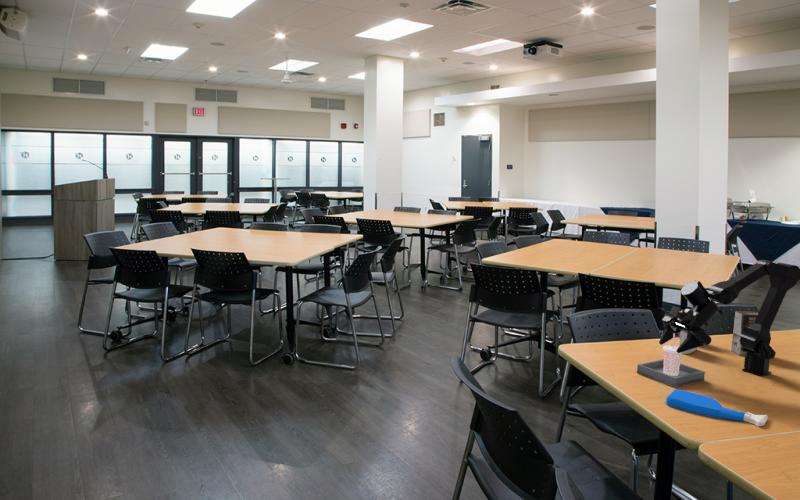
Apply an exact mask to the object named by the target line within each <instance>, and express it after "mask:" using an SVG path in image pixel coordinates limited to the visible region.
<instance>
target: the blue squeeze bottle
mask: <svg viewBox="0 0 800 500" xmlns="http://www.w3.org/2000/svg"><path fill="white" fill-rule="evenodd" d="M665 403H666V405H667V406H670V407H672V408H675V409H679V410H681V411H686V412H689V413H693V414H697V415H701V416H705V417H711V418H716V419H724V420H732V421H738V422H745V423H746V422H747V423H750V424H752V425H755V426H756V427H762V426H765V424H767V421H768V415H767V414H764V415H763V414H757V415H756V414H753V413H751V412H748V411H746V413H745V412H744V411H738V410H735V409H730V408H729V407H724V406H722V404H720V402H719V401H718V400H716V399H715V398H713V397H710V396H707V395H703V394H701V393H696V392H691V391H688V390H683V389H682V390H681V389H677V388H676V389H674V390H672V391H671V392H670V394H669V395H668V396H667V397H666V401H665Z"/></svg>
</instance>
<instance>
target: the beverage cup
mask: <svg viewBox="0 0 800 500" xmlns="http://www.w3.org/2000/svg"><path fill="white" fill-rule="evenodd" d="M675 338H676V336H675V333H673V338H672V345H671V344H666V345H663V346H662V350H663V359H664V368H663V373H665V374H668V375H670V376H678V374H679V367H680V363H681V359H682V356H683V355H682V354H683V353H682V352H681V353H677V351H676V350H677V349H678V348H679V346H678V345H675Z"/></svg>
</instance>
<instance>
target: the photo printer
mask: <svg viewBox="0 0 800 500" xmlns="http://www.w3.org/2000/svg"><path fill="white" fill-rule="evenodd" d="M679 337H680V338H679V346H680V345H681V344H682V343H683V342H684V340H685V339H686V338H687V333H686V332H684V331H681V334H680V333H679ZM697 350H698V347H696V348H693V349H690V350H687V351H684V352H682V354H683V355H684V354H685V355H689V354H691V353H694V352H695V351H697Z"/></svg>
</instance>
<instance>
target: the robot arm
mask: <svg viewBox="0 0 800 500" xmlns="http://www.w3.org/2000/svg"><path fill="white" fill-rule="evenodd" d="M768 274H769V276H768V279H769V284H770V286H769V288H768V290H767V293H766V295H765V297H764V300H763V302H762V303H761V307H760V308H759V311H758V312H759V313H758V315H757V317H756V319H755V322H754V324H753V325H751V326H750V327H747V326H745V327H744V328H743V331H742V334H741V335H740V337H741V338H740V343H741V345H742V348H743V351H744V352H747V353H746V356H744V362H743V363H744V364H743V368H742V369H741V370H742V371H744V372H746V373H750V374H753V375H756V376H760V377H762V376H766V375H771V374H772V371H770V362H771V359H774V358H775V357H776V354H777V352H776V351H775V349H773V347H772V346H771V345H770V344H771V341H772V337H771V332H770V331H771V327H772V325H773V324H774V322H775V321H774V320H775V318H776V316H777V314H778V312H779V310H780V307H781V305H782V303H783V300H784V299H785V297H786V294H787V292H788V291H789V290H791V289H792V288H794V287H795V286H796V285H797V283H798V282H799V280H800V267H799V266H798V265H795V264H789V263H785V262H777V263H776V262H773V261H771V260H765V259H760V260H757V261H756V262H755V263H754V264H752V265H751V266H749V267H748V268H746V269H745V270H743V271H741V272H740V273H738V274H736V275H735V276H733V277H732V278H730V279H728V280H723V281H719V282H716V283H714V284H712V285H710V286H709V287H706V288H705V286H704V285H703V283H702V282H701V281H700V280H694V281H693V282H690V283H687V284H685V285H684V286H682V288H681V290H680V294H681V295H682V296H683V297H684V298H685V299H686V300H687V301H688V303H690V305H691V306H694V307H693V309H690V308H686V309H682V308H680V307H678V306H674V305H673V306H672V308H671V310H670V311H669V314H668V315H664V317H663V318H662V319H661V321H662V324H663V326H664V329H663V333H662V334H661V336H660V338H659V340H658V341H659V342H658V344H659V345H661V346H662V345H664V344H666V343H668V342H669V341H670V340H673V333H675V337H677V336H678V335H679V334H680V332H681V331H684V332H686V333H687V338H686V339H685V340H684V342H683V343H682V344H681V345H680V344H679V346H678V347H679V348H678V349H677V350H676V351H677V353H681V352H684V351H687V350H690V349H693V348H696V347H697V348H699V347H704V346H705V347H708V346H709V345H710V344H711V343H712V337H711V336H710V334H708V332H707V331H706V330H705V329H703V327H708V326H709V325H710V324H709V323H708V321H710V319H712V317H713V316H714V315H716V314H718V315H720V316H722V315H724V311H723V306H720V305H718V304H721V305H726V306H727V305H730V304H731V303H732V302H734V301H735V300H736V299H737V298H738V297H739V295H740V293H741V292H742V291H744V289H746V288H747V287H749V286H751V285H752V284H754V283H755V282H757V281H759V280H761V279H762V278H764V277H765V276H766V275H768ZM717 303H718V304H717ZM673 316H674V317H673Z"/></svg>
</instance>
